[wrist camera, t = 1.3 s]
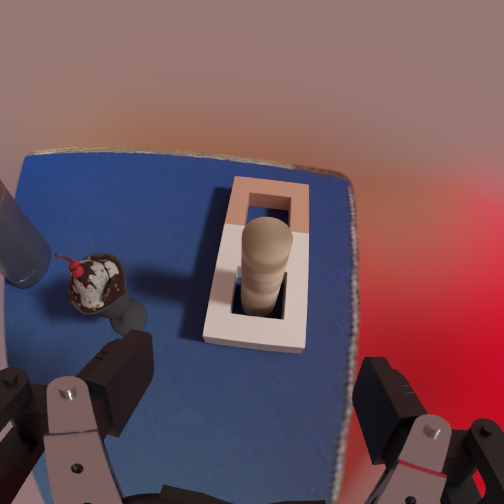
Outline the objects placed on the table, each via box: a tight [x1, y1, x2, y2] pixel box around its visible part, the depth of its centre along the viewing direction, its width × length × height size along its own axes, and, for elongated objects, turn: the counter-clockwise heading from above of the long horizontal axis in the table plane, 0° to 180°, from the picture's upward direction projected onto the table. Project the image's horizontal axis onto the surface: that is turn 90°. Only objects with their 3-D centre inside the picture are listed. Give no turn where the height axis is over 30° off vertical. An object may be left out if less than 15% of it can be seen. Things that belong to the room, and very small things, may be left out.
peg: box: [241, 217, 293, 318], centre depth 30 cm, size 4×4×14 cm
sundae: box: [55, 253, 146, 336], centre depth 28 cm, size 7×7×15 cm
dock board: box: [203, 176, 309, 354], centre depth 38 cm, size 24×11×3 cm, turn 173°
